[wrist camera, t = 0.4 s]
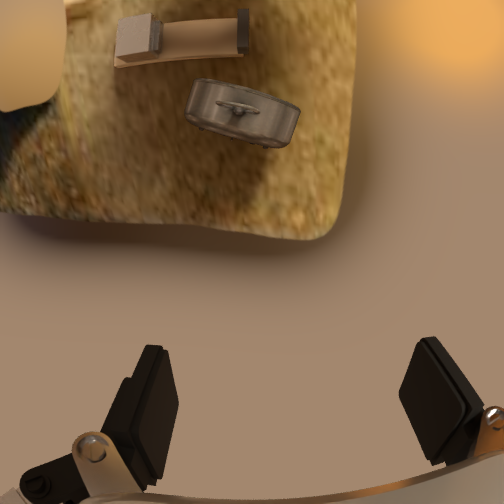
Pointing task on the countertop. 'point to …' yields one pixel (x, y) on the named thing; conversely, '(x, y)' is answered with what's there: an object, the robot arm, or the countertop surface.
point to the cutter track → (201, 40)
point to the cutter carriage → (139, 38)
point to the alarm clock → (241, 113)
